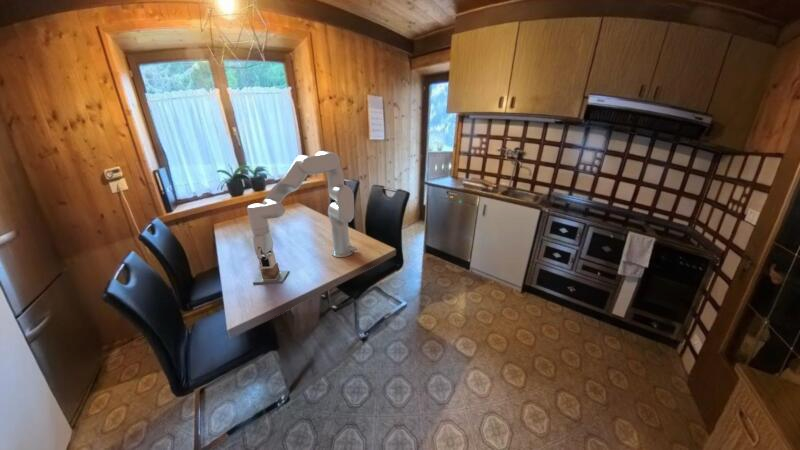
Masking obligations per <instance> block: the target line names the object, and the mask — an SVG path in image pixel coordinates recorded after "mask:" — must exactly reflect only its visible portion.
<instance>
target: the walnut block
mask: <svg viewBox="0 0 800 450" xmlns="http://www.w3.org/2000/svg"><path fill="white" fill-rule="evenodd" d="M279 268H280V267H279V264H278V262H276V264H275V266H274V267H273V268H266V269H262V267H261V268H260V273H262V277H263V280H269V279H276V278H277V276H278V275H279V273H280V271H281V270H280V269H279Z"/></svg>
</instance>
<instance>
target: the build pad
mask: <svg viewBox="0 0 800 450" xmlns="http://www.w3.org/2000/svg"><path fill="white" fill-rule="evenodd" d="M279 271H280V273H279V275H278V276H277V278H276V279H269V280H263V277H262V273H261V272H260V273H259V275H257V277H256V278H255V279H254V281H253V282H252V284H253V285H263V284H265V285H266V284H267V285H268V284H269V285H270V284H283V283H284V281H285V280H286V278H287V276H288V275H289V274H290V270H279Z"/></svg>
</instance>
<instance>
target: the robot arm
mask: <svg viewBox="0 0 800 450" xmlns="http://www.w3.org/2000/svg"><path fill="white" fill-rule="evenodd" d="M323 173H326V176H327V177H326V178H327V188H328V195H329V198H331V200H334V202H333V201H332V202H331V203H330V204H329V205H328V207H327V215H328V218H329V221H330V228H331V236H332V244H333V249H332V250H331V255H332V256H333V257H335V258H346V257H348V256H350V255H352V254H353V253H354V251H358V247H357V246H356V245H352V243H350V233H349V223H351V222H352V220H353V219H354V217H355V194H354V192H353V190H352V188H351V187H349V186H348V185H346V184H345V179H344V172H343V169H342V165H341V158H340V156H339V155H338V154H337V153H335V152H332V151H327V150H319V151H317V152H316V153H315V155H311V156H310V155H307V154H306V155H305V154H304V155H303V154H301V155H298V156H297V157H296V158H295V160H294V161H293V162H292V164H291V165H290V167H289V168H288V170H287V171H286V173H285V174H284V176H283V177H282V179H280V180H279V181H278V182H277V183H276V184H275V185H274V186H272V188H270V190H269V192H268V193H267V194H266V196H265V197H264V199H263V200H262V203H252V204H249V205H247V207H246V213H247V216H248V221H249V224H250V228H251V233H252V241H253V247H254V253H255V255H256V256H257V255H258V258H259V259H260V260H261V262H262V266H263V267H269V266H270V265H269V261H268V259H267V253H274V250H273V249H274V241H273V237H272V234H271V228H270V224H269V223H270V222H269V219H278V218H280V217H283V216H284V214H285V212H286V208H285V206H284V205H283V203H282V201H283V200H284V199H285V198H286V197H287V195H289V194H291V193H292V192H293V193H294V192H295V191H297V190H298V189H300V187H301V185H302V184H303V183H304V181H305V179H306V178H307V177H308V176H310V175H312V176H314V175H317V174H323ZM262 252H263V253H262ZM262 255H265V257H264V256H262ZM258 258H257V259H258ZM259 259H258V260H259ZM262 266H261V267H262Z"/></svg>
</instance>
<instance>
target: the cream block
mask: <svg viewBox="0 0 800 450" xmlns="http://www.w3.org/2000/svg"><path fill="white" fill-rule="evenodd" d="M262 256H264V257H265V255H262ZM267 259H268V261H269V265H270V266H269V267H263V266H262V262H261V260H260V262H261V264H260V265H261V268H262V269H266V268H273V267H274V266H275V264H276V263H277V259H276V256H275V252H273V253H267ZM260 262H259V263H260Z"/></svg>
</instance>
